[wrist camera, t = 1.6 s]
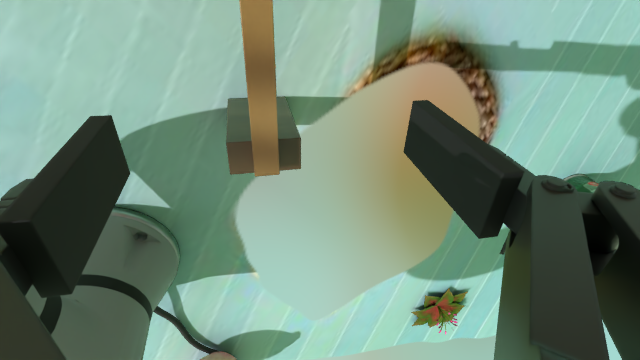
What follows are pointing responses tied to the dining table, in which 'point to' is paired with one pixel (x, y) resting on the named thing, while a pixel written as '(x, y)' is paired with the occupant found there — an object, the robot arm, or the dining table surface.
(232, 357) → the decorative fruit
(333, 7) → the dining table surface
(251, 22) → the ladle
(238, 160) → the dark upright slab
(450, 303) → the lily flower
